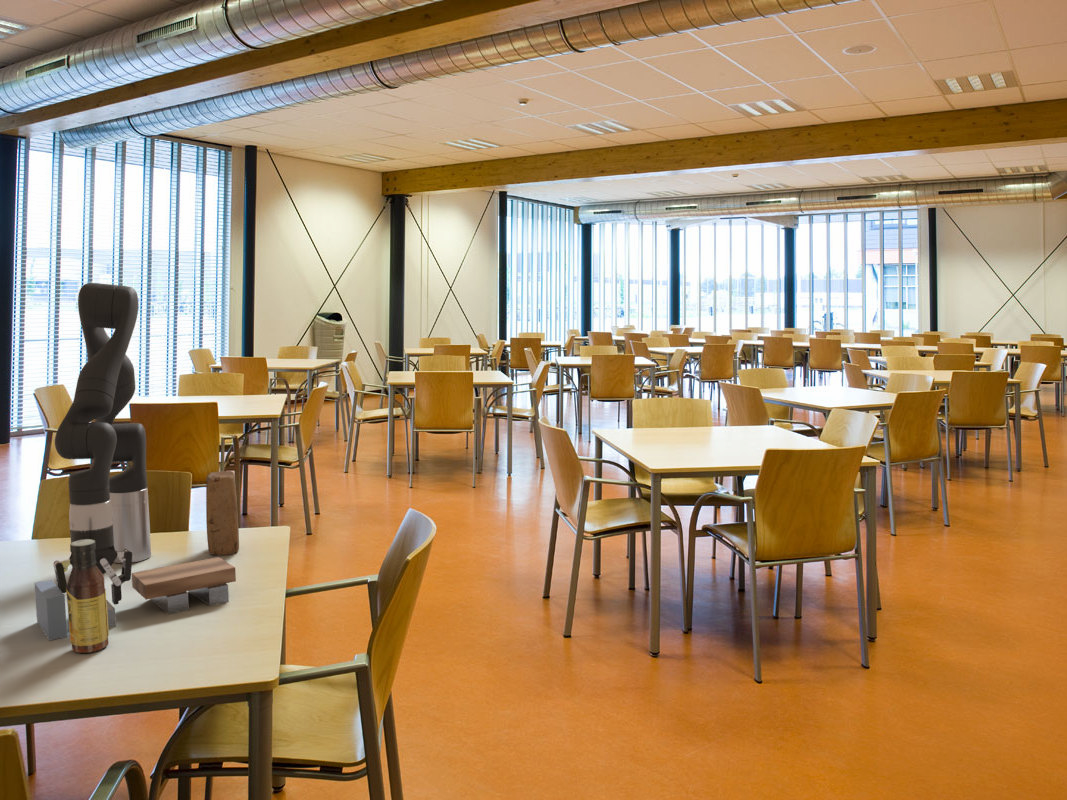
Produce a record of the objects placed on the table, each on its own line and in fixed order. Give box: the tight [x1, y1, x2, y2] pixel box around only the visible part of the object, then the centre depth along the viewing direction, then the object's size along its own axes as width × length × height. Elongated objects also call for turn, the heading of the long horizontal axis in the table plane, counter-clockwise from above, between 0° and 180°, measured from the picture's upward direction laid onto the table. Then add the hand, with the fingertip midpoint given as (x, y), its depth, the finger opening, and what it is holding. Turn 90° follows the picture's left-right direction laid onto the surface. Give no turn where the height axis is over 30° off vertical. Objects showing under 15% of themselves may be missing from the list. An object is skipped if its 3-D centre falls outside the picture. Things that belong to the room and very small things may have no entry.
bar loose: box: [106, 598, 117, 629], centre depth 173 cm, size 12×4×4 cm, turn 38°
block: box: [205, 470, 240, 556], centre depth 221 cm, size 11×8×20 cm
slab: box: [131, 556, 237, 601], centre depth 184 cm, size 10×18×3 cm, turn 129°
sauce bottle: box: [66, 539, 110, 654], centre depth 158 cm, size 7×6×20 cm
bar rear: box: [188, 583, 230, 607], centre depth 187 cm, size 12×4×4 cm, turn 41°
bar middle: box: [150, 591, 190, 615], centre depth 182 cm, size 12×4×4 cm, turn 40°
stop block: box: [34, 579, 68, 641], centre depth 168 cm, size 12×3×8 cm, turn 39°
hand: (96, 607), depth 173 cm, fingers open, 6 cm apart
